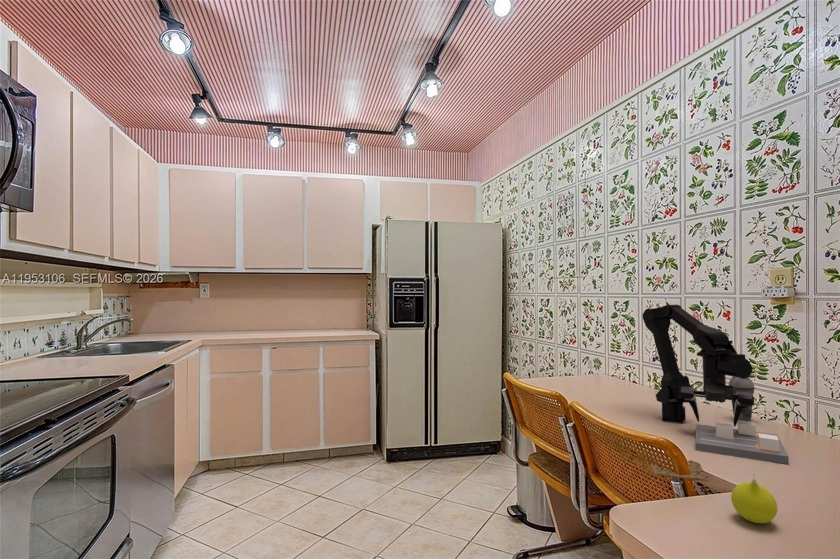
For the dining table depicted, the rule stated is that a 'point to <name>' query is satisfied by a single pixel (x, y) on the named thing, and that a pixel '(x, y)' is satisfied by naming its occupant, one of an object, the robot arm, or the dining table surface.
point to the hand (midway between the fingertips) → (716, 423)
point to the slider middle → (724, 430)
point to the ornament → (754, 502)
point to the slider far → (746, 428)
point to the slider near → (768, 442)
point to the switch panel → (737, 445)
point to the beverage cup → (742, 386)
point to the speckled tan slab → (695, 474)
